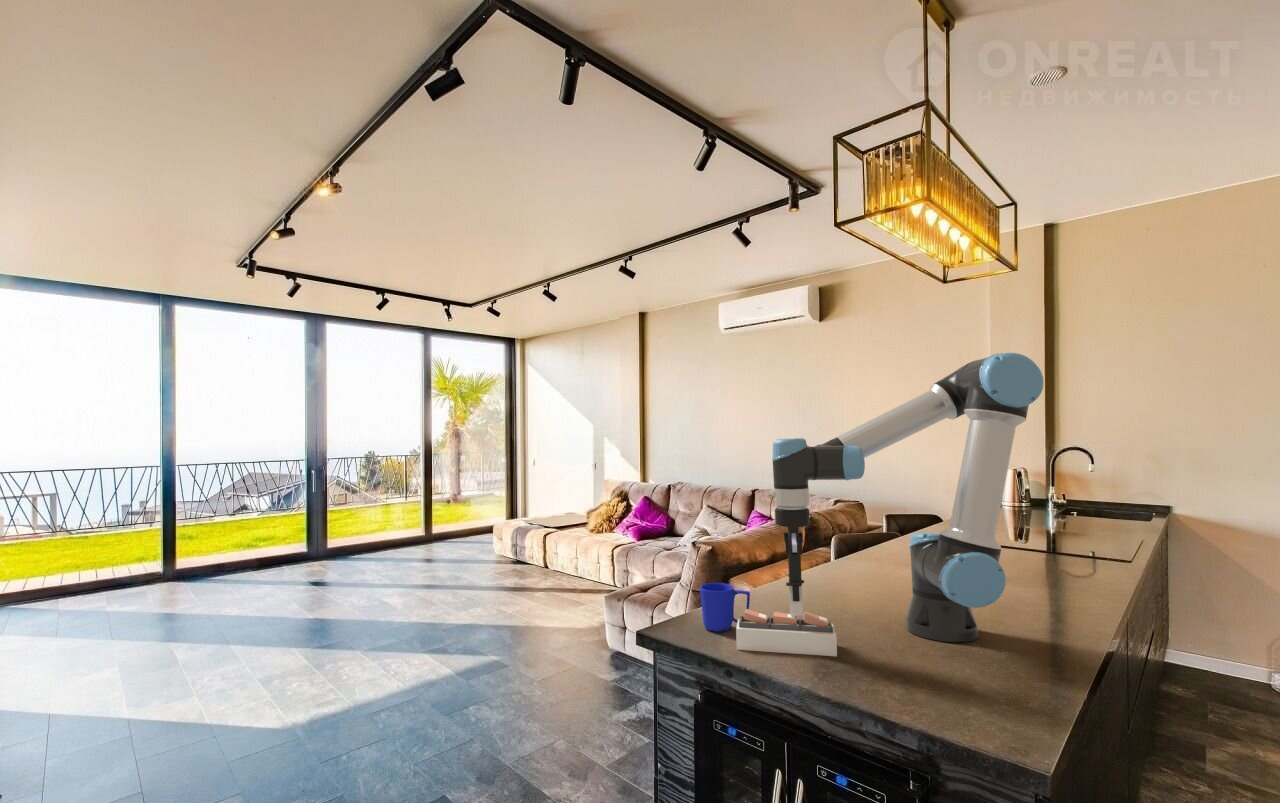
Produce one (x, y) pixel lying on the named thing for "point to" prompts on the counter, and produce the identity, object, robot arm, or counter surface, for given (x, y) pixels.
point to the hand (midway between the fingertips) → (796, 614)
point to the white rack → (786, 637)
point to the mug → (719, 605)
